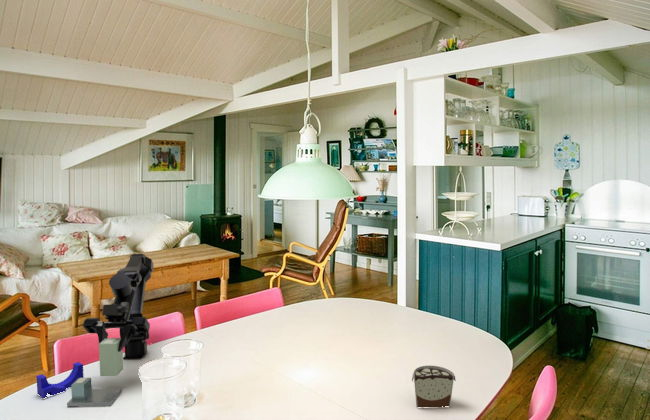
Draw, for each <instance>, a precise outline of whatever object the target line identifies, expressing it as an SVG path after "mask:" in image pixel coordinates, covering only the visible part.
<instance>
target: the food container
mask: <svg viewBox="0 0 650 420" xmlns="http://www.w3.org/2000/svg"><path fill="white" fill-rule="evenodd" d="M456 380H457V379H456V376H455V373H454V372H453V371H451V370H450V369H448V368H446V367H443V366H440V365H439V366H437V365H423V366H417V367H416V368H415V369H414V370H413V373H412V376H411V382H413V383H414V395H415V403H416V405H415V406H416V408H417V407H442V406H443V407H445V406H449V407H450V408H451V401H452V394H453V387H454V382H456Z"/></svg>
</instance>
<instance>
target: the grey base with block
mask: <svg viewBox="0 0 650 420" xmlns="http://www.w3.org/2000/svg"><path fill="white" fill-rule="evenodd" d="M92 386H93V385H92V377H84V378H78V379H77V380H76V381H75V382H74V383H73V384H72V385H71V387H70V388H71V389H70V391H71V398H70V399H69V400H68V402H67V403H66V407H67V406H93V407H111V406H112V405H113V404H114V402H116V400H117V399H118V397H120V395H121V394H122V392H123V388H122V387H119V388H118V387H114V388H113V387H112V388H111V387H109V388H92Z"/></svg>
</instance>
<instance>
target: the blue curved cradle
mask: <svg viewBox="0 0 650 420" xmlns="http://www.w3.org/2000/svg"><path fill="white" fill-rule="evenodd" d="M72 364H73V365H72V370H71V372H70V374H68V376H67V377H66V378H65V379H64V380H62V381H60V382H57V383H49V381H48V378H47V376H45V375H44V374H42V373H41V374H39V375H36V391H37V394H39V395H40V396H42V397H43V398H45V397H47V396H46V395H47V393H48V394H50V395H54V394H57V393H60V392H63V391H65V392H66V391H67V389H69V388H68V387H70V388H71V385H72V384H73V383H74V382H75V381H76V380H77V379H78V378H85V377H84V365H83V363H81V362H80V361H79V362H78V361H77V362H74V363H72ZM66 388H67V389H66ZM63 393H64V392H63ZM60 394H61V393H60ZM57 395H58V394H57ZM40 396H39V397H40ZM43 398H42V399H43Z"/></svg>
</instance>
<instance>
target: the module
mask: <svg viewBox="0 0 650 420" xmlns="http://www.w3.org/2000/svg"><path fill="white" fill-rule="evenodd" d="M120 340H121V338H120V337H107V338H105V339H104V340H103V341H102V342H101V343H100V344H99V343H98V355H99V357H98V359H99V377H118V376H119V375H120V374H121V373H122V371H123V370H124V359H123V357H124V355H123V354H124V353H123V349H122V350H121V351H120V352H118V347H119V343H120Z"/></svg>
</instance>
